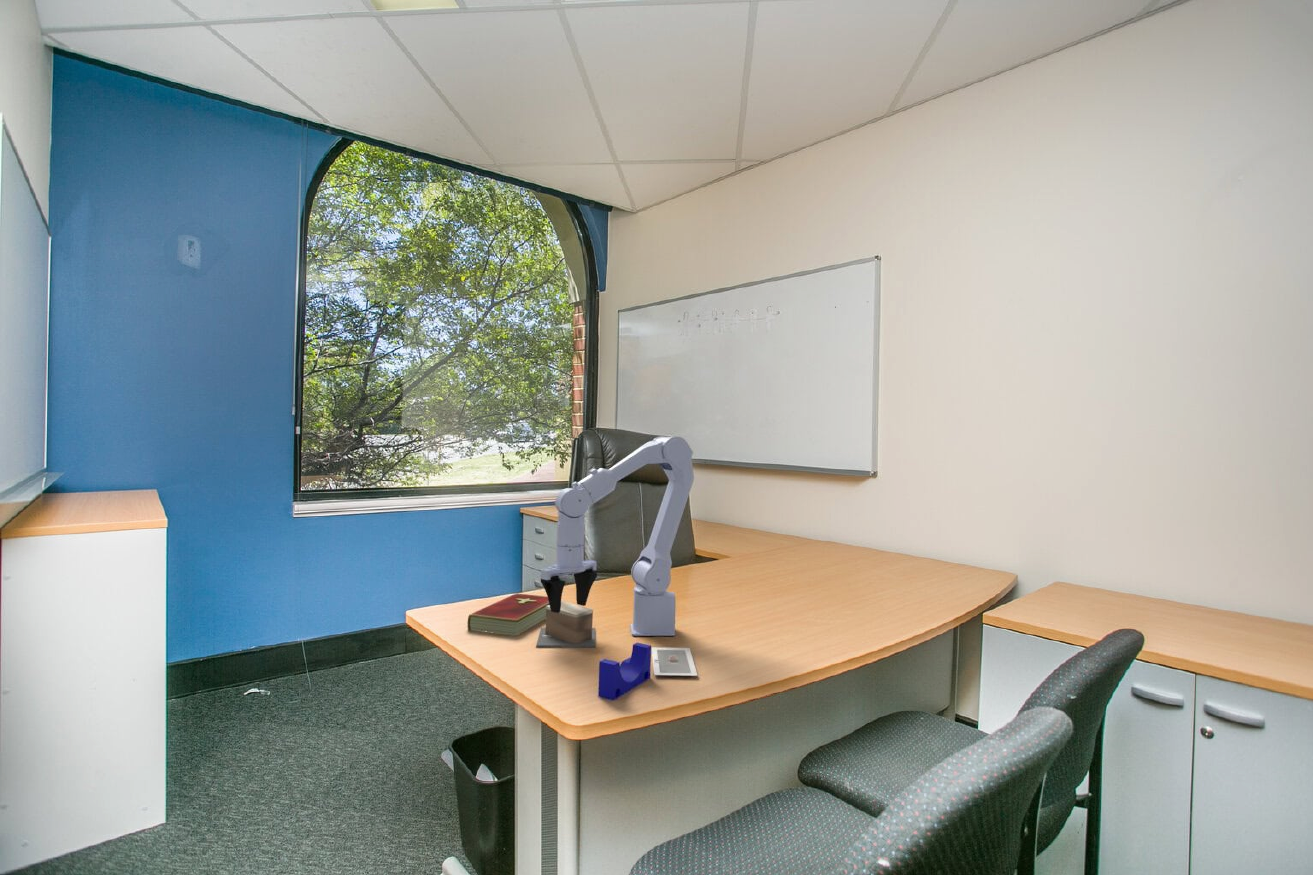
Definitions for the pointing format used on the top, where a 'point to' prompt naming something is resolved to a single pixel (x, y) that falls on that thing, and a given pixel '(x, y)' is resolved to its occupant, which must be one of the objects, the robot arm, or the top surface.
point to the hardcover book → (510, 615)
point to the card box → (569, 623)
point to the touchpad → (673, 661)
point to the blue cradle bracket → (624, 672)
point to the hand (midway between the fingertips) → (568, 608)
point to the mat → (562, 641)
